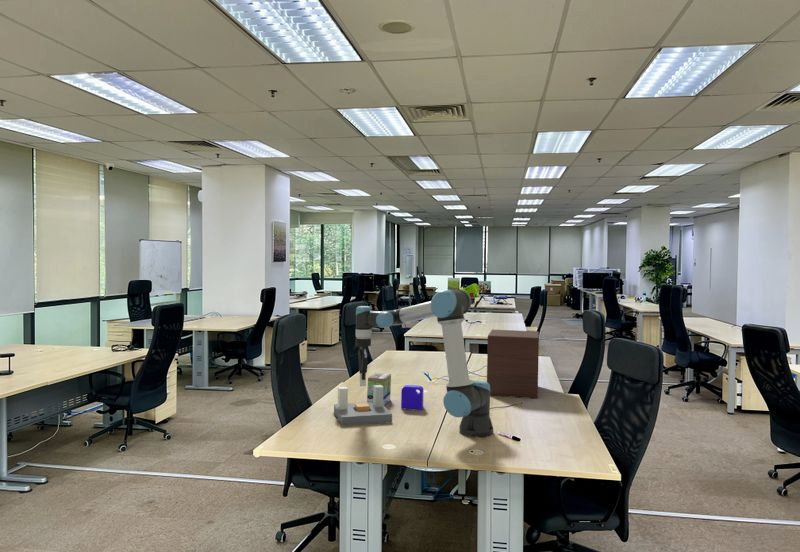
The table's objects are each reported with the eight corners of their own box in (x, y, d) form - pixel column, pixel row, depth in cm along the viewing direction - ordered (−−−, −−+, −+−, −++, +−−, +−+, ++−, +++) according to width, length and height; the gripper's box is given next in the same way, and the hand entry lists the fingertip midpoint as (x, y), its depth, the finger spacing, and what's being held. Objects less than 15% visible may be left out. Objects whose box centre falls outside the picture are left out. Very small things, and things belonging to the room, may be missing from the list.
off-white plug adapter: (347, 409, 259) (347, 388, 259) (339, 409, 258) (339, 389, 258) (345, 406, 264) (346, 386, 264) (337, 406, 263) (338, 386, 262)
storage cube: (537, 399, 303) (538, 337, 303) (486, 395, 310) (487, 335, 310) (537, 386, 337) (538, 331, 337) (491, 383, 344) (492, 329, 344)
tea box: (384, 406, 281) (385, 378, 281) (366, 405, 283) (366, 377, 283) (390, 399, 296) (391, 373, 296) (373, 398, 298) (373, 372, 298)
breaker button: (369, 416, 257) (369, 406, 257) (357, 417, 256) (357, 406, 256) (366, 413, 263) (366, 403, 263) (354, 413, 261) (355, 403, 261)
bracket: (421, 410, 275) (422, 387, 274) (401, 408, 277) (401, 386, 277) (427, 402, 292) (427, 380, 292) (407, 400, 294) (408, 379, 294)
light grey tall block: (383, 407, 264) (383, 387, 264) (375, 407, 263) (375, 387, 263) (380, 404, 269) (381, 384, 268) (373, 405, 267) (373, 385, 267)
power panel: (392, 422, 251) (392, 414, 251) (341, 425, 245) (341, 417, 244) (380, 409, 274) (380, 401, 274) (333, 412, 268) (334, 404, 268)
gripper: (373, 339, 254) (373, 388, 254) (367, 336, 266) (367, 382, 266) (358, 339, 252) (357, 389, 252) (353, 336, 264) (352, 383, 264)
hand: (362, 385), depth 259 cm, fingers closed
